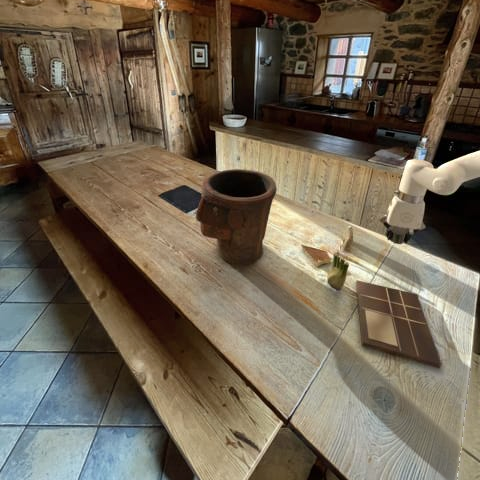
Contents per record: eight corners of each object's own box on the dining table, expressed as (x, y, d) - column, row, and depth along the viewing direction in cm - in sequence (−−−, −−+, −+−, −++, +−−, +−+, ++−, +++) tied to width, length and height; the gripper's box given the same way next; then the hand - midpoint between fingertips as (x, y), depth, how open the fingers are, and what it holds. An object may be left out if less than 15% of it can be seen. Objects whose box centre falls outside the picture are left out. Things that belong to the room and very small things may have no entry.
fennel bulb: (344, 291, 87) (351, 264, 81) (329, 292, 86) (336, 264, 81) (338, 278, 92) (344, 251, 87) (324, 278, 92) (329, 251, 86)
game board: (415, 297, 85) (417, 293, 84) (439, 368, 66) (441, 364, 65) (355, 283, 90) (356, 279, 89) (362, 345, 71) (363, 341, 70)
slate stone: (402, 237, 98) (404, 228, 97) (405, 245, 94) (408, 236, 93) (387, 234, 100) (390, 226, 98) (390, 242, 96) (393, 233, 94)
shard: (300, 247, 106) (301, 244, 105) (316, 243, 108) (317, 240, 107) (316, 266, 96) (316, 263, 96) (333, 262, 99) (334, 258, 98)
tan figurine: (337, 253, 103) (337, 235, 113) (348, 258, 102) (347, 238, 112) (344, 240, 99) (343, 222, 109) (356, 244, 98) (354, 226, 109)
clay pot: (188, 242, 107) (182, 175, 94) (251, 223, 119) (253, 162, 106) (211, 288, 87) (208, 211, 74) (284, 260, 99) (292, 189, 86)
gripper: (384, 197, 88) (372, 241, 96) (443, 205, 84) (426, 250, 91) (380, 187, 95) (369, 229, 102) (435, 194, 90) (419, 237, 98)
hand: (396, 239), depth 97 cm, fingers closed on slate stone, 4 cm apart
